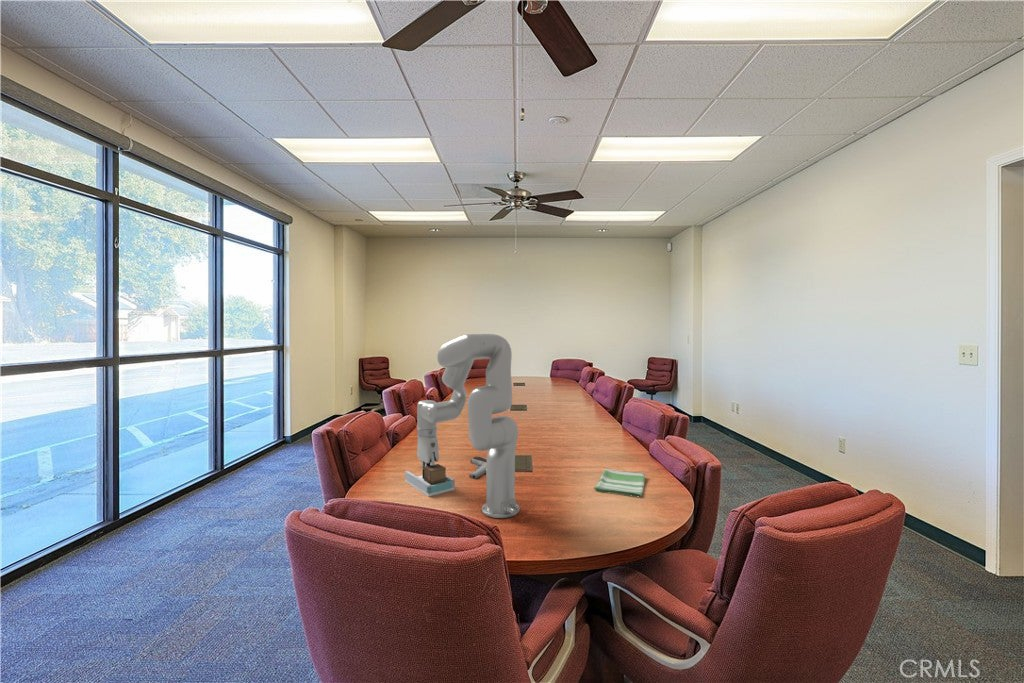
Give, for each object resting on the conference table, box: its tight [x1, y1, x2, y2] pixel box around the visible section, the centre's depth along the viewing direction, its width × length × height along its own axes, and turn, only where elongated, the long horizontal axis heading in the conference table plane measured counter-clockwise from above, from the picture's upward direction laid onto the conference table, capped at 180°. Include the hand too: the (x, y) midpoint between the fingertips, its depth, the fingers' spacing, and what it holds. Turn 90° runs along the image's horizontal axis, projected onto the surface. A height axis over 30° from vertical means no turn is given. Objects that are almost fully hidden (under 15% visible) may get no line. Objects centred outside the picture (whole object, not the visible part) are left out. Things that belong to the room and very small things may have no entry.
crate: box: [423, 463, 447, 485], centre depth 167 cm, size 6×6×7 cm
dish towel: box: [593, 468, 646, 498], centre depth 173 cm, size 18×23×3 cm
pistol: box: [468, 455, 487, 480], centre depth 192 cm, size 23×3×14 cm
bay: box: [404, 470, 456, 497], centre depth 170 cm, size 20×11×4 cm, turn 38°
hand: (427, 478), depth 172 cm, fingers closed
